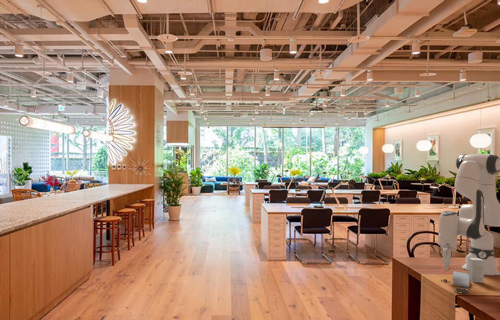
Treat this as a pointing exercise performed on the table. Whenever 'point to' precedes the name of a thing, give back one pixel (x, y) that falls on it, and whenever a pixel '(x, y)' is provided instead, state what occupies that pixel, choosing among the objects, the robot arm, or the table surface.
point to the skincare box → (476, 270)
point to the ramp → (460, 279)
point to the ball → (448, 268)
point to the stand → (445, 280)
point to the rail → (462, 290)
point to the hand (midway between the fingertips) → (446, 268)
